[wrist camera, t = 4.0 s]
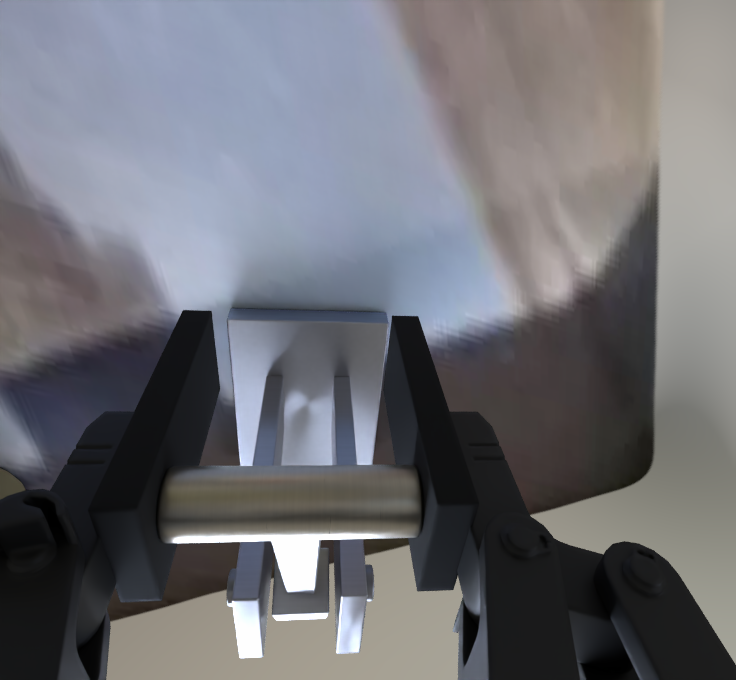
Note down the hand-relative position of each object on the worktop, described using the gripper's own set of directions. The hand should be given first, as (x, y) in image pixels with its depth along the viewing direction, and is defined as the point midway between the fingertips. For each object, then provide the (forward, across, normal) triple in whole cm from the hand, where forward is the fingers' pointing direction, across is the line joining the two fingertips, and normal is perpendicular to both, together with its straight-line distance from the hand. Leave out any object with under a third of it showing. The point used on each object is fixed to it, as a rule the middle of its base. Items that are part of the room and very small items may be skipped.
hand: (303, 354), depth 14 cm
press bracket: (+13, 0, -12) cm, 18 cm away
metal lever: (-1, 0, -6) cm, 6 cm away
